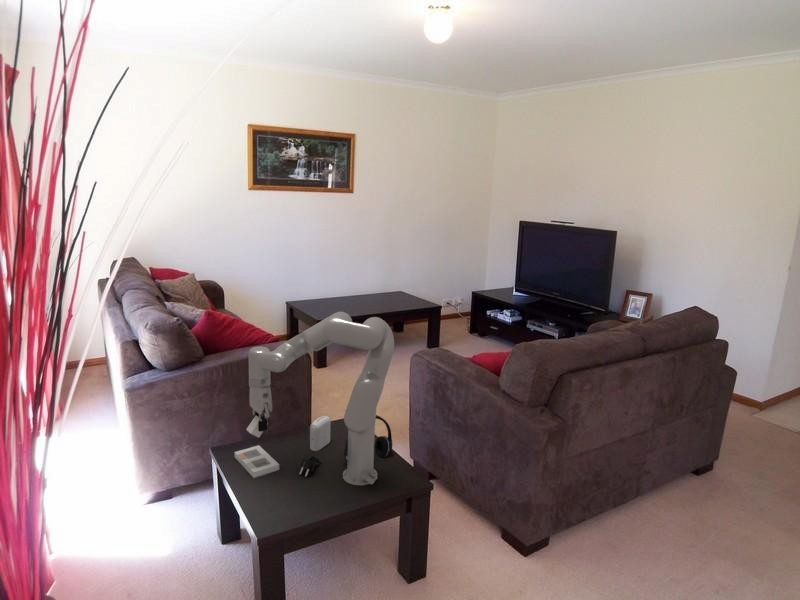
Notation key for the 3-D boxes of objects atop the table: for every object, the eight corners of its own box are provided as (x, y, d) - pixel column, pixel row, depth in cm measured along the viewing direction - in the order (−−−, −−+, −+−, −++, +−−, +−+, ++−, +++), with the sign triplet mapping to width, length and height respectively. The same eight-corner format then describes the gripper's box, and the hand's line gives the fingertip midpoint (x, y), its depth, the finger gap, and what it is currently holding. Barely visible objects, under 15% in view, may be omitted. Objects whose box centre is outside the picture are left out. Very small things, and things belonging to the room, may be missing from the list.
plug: (259, 437, 197) (270, 421, 198) (250, 433, 194) (261, 416, 196) (254, 433, 200) (265, 417, 201) (246, 429, 197) (257, 412, 199)
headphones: (384, 450, 220) (386, 408, 216) (394, 457, 214) (396, 414, 211) (341, 463, 208) (342, 419, 204) (350, 471, 203) (351, 425, 199)
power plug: (328, 463, 206) (313, 455, 196) (320, 482, 203) (305, 476, 194) (316, 459, 209) (300, 451, 199) (308, 478, 206) (292, 471, 196)
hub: (279, 470, 201) (279, 463, 201) (253, 478, 195) (253, 471, 194) (259, 450, 215) (259, 444, 214) (234, 457, 209) (234, 451, 208)
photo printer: (317, 452, 215) (317, 424, 213) (308, 450, 217) (308, 421, 215) (331, 442, 224) (332, 414, 222) (323, 440, 226) (323, 412, 223)
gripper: (279, 386, 190) (279, 434, 194) (259, 372, 203) (260, 417, 207) (259, 390, 186) (260, 439, 190) (240, 375, 199) (241, 422, 203)
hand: (260, 427), depth 198 cm, fingers closed on plug, 3 cm apart
